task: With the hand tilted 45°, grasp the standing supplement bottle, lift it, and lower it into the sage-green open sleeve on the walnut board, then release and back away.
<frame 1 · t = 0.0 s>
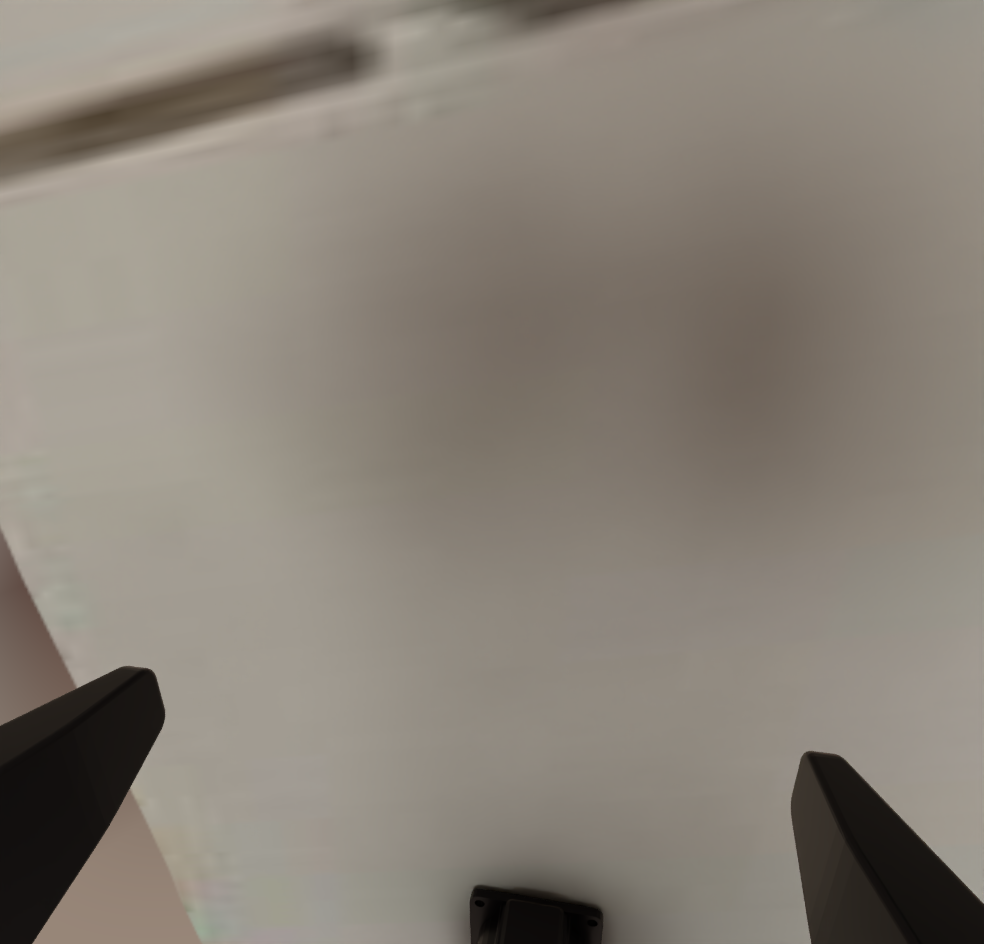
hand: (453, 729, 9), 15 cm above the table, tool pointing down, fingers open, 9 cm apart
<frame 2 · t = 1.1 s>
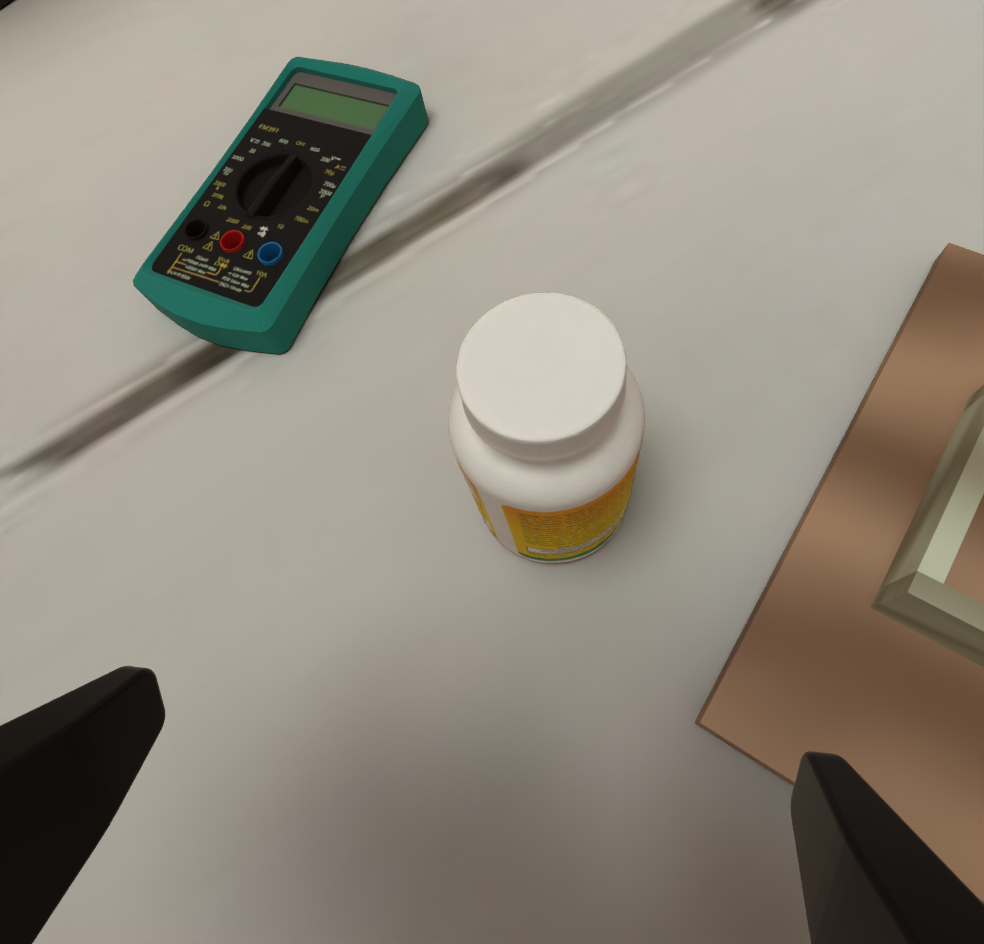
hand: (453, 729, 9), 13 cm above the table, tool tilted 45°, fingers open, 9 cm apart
supplement bottle: (554, 497, 24), on the table
digital multimeter: (302, 220, 31), on the table
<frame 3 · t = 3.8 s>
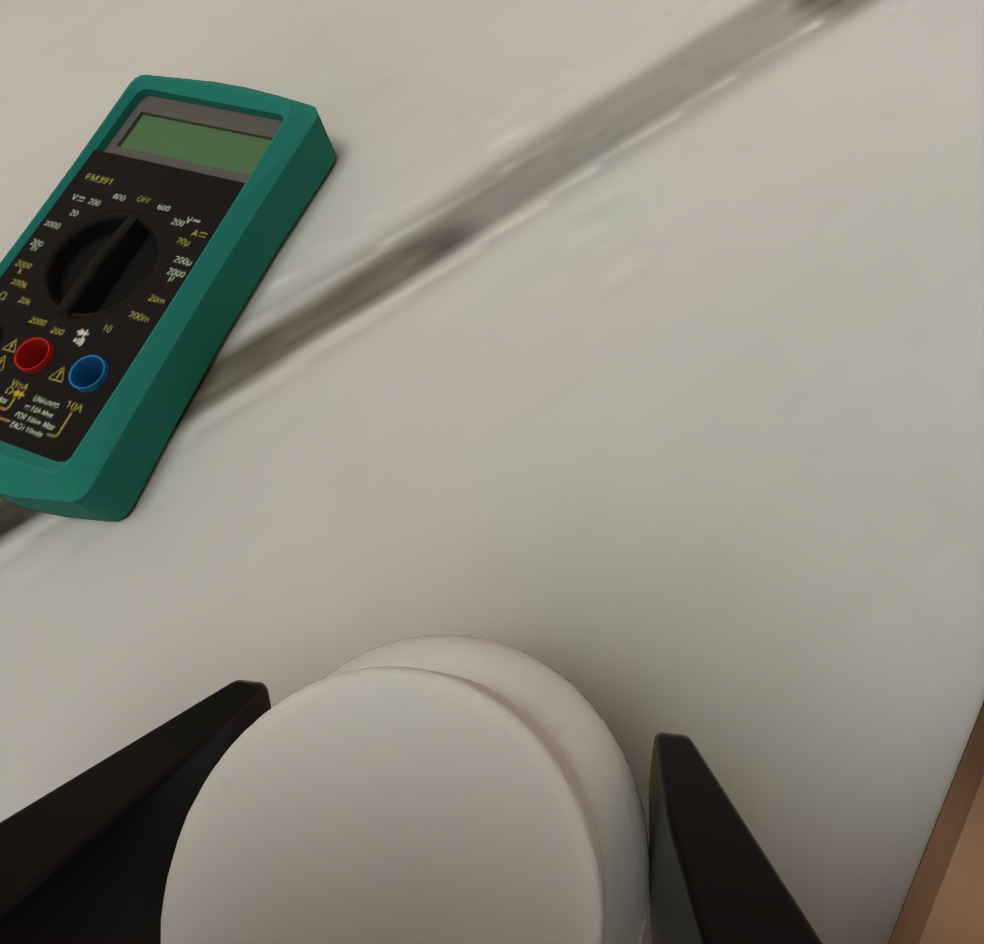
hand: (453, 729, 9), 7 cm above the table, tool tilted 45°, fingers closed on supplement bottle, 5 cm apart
supplement bottle: (499, 797, 15), on the table, touching gripper
digital multimeter: (162, 306, 22), on the table
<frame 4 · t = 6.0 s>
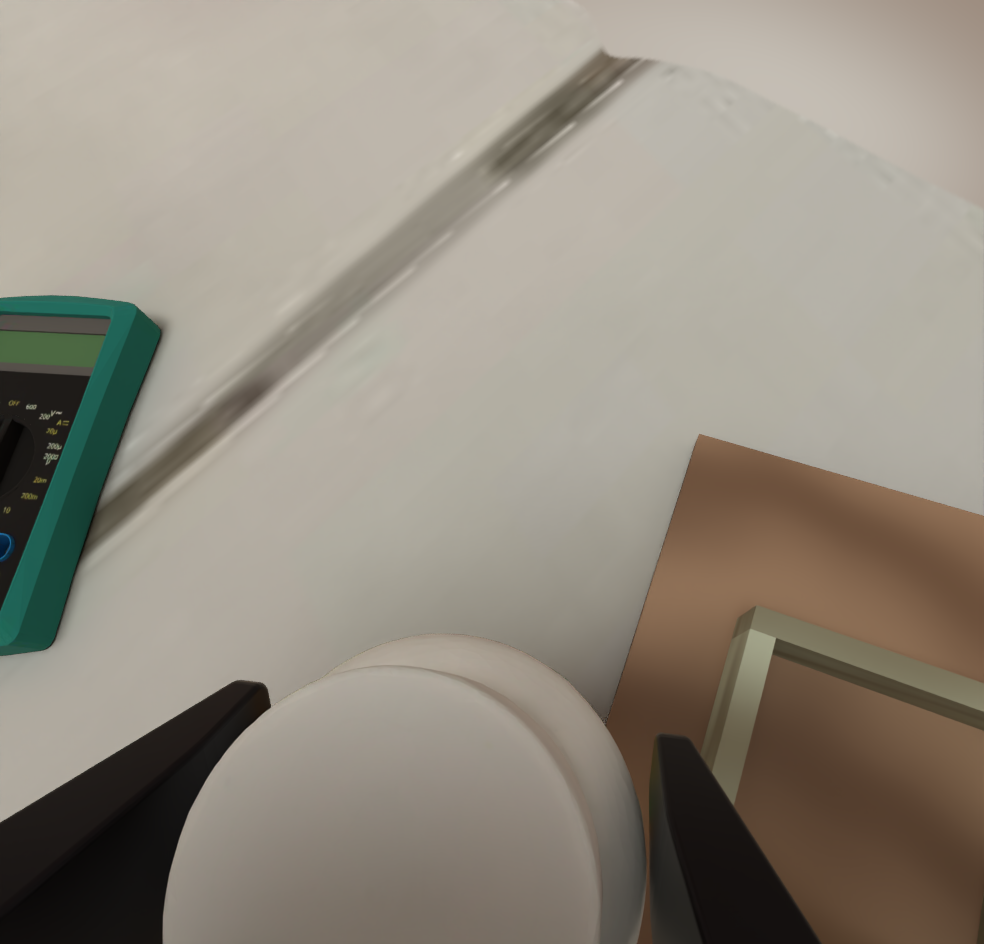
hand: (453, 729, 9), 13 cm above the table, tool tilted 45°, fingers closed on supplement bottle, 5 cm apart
bottle holder: (836, 809, 19), on the table
supplement bottle: (496, 795, 15), point 7 cm above the table, touching gripper
digital multimeter: (47, 474, 28), on the table
when the fingers open (9 cm above the table, at t = 8.3 s): supplement bottle drops 1 cm, resting on bottle holder.
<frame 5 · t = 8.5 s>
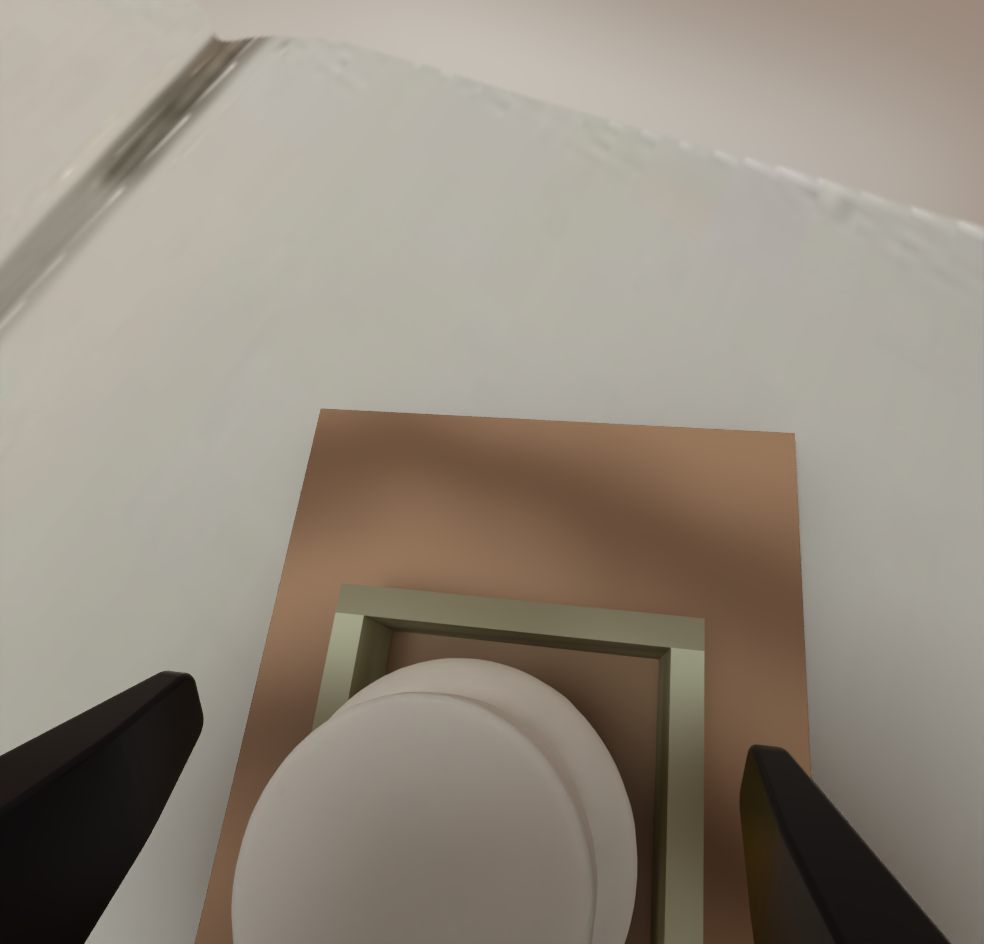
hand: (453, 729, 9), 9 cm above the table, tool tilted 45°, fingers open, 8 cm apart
bottle holder: (510, 788, 17), on the table
supplement bottle: (504, 800, 16), point 1 cm above the table, touching bottle holder
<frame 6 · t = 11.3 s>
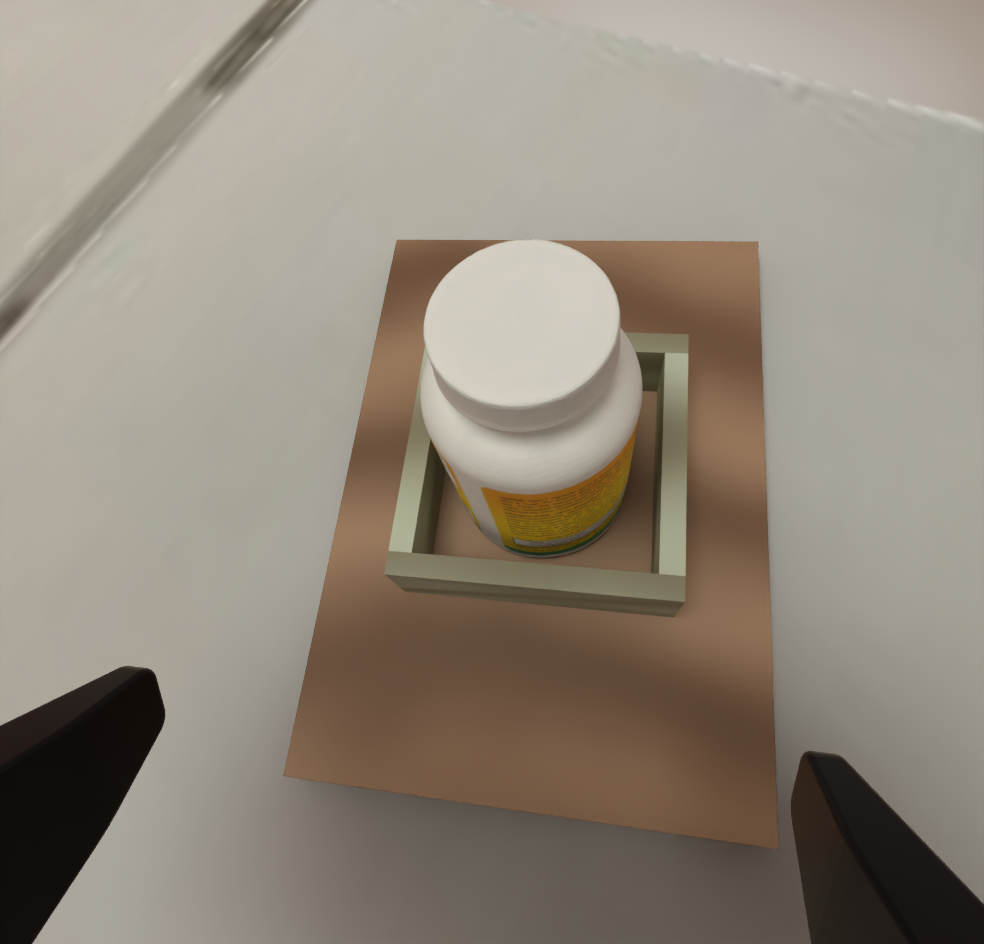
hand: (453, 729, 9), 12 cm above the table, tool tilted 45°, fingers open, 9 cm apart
bottle holder: (548, 489, 23), on the table
supplement bottle: (545, 486, 22), point 1 cm above the table, touching bottle holder
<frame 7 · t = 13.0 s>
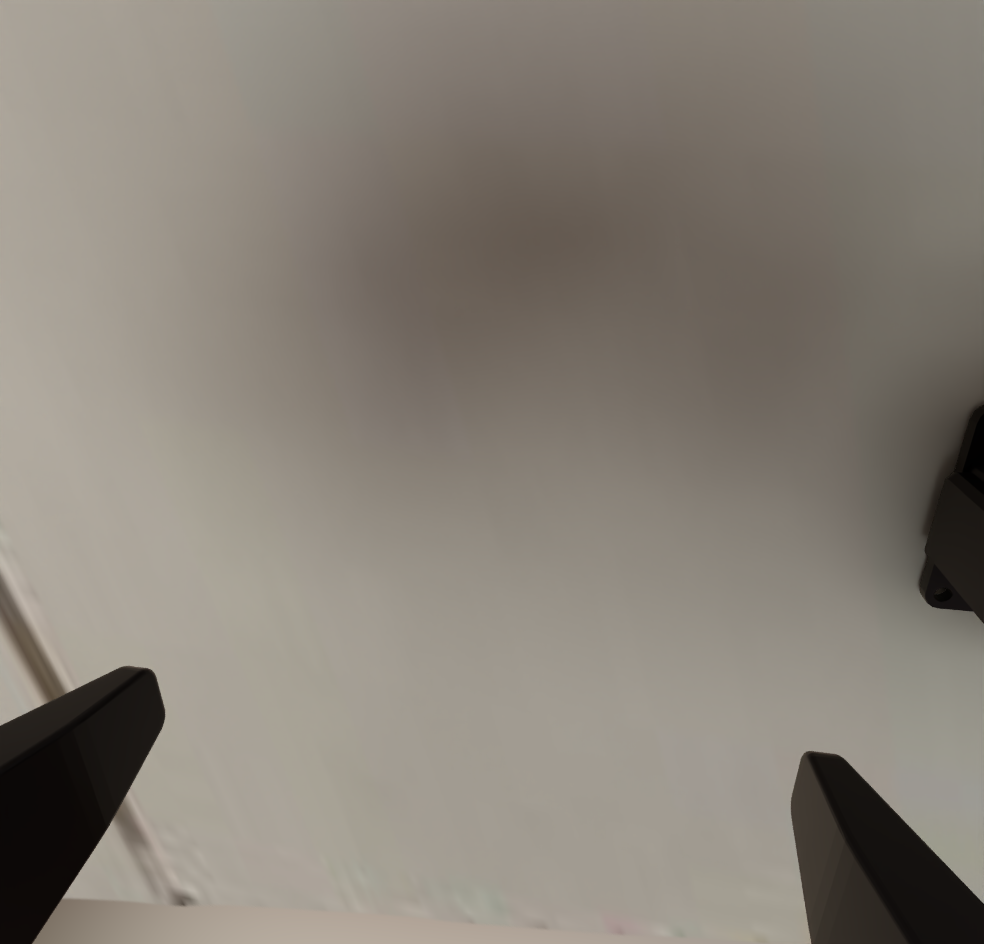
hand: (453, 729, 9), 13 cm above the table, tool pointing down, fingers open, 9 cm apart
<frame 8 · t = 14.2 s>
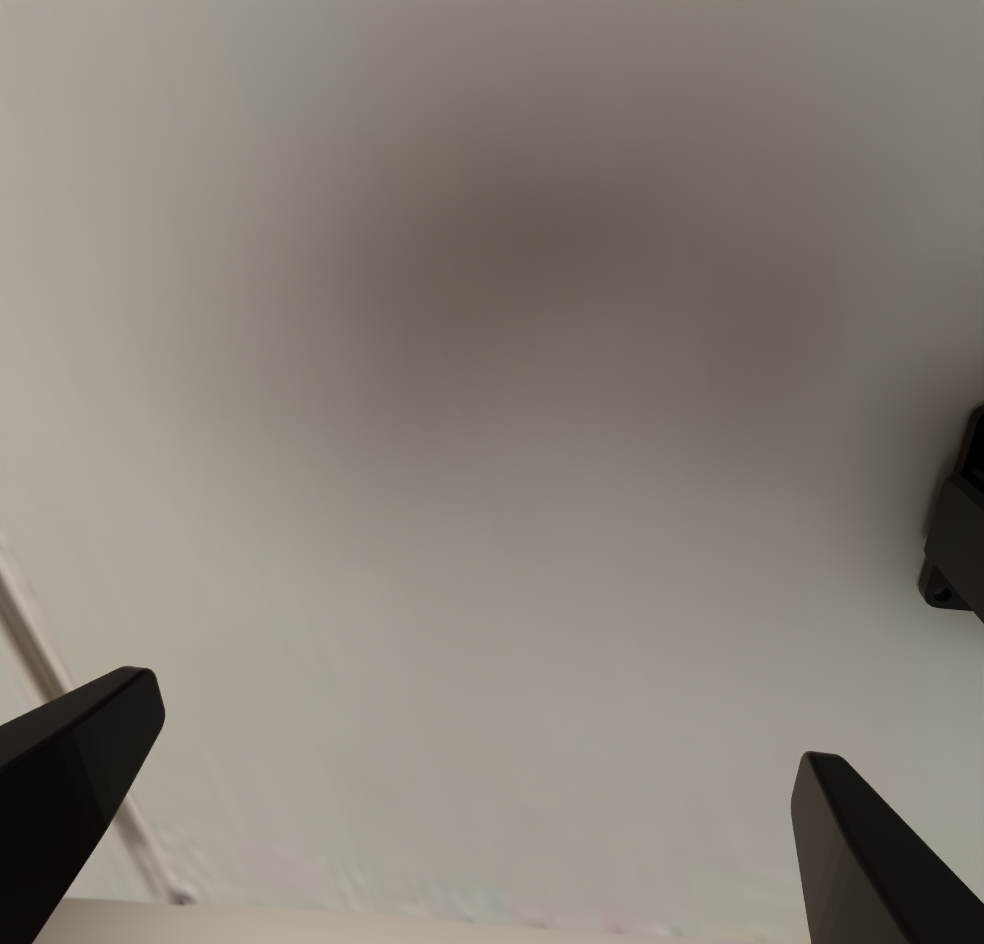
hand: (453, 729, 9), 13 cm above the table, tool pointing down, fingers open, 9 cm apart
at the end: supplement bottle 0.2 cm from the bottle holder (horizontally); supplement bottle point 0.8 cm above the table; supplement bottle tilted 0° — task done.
